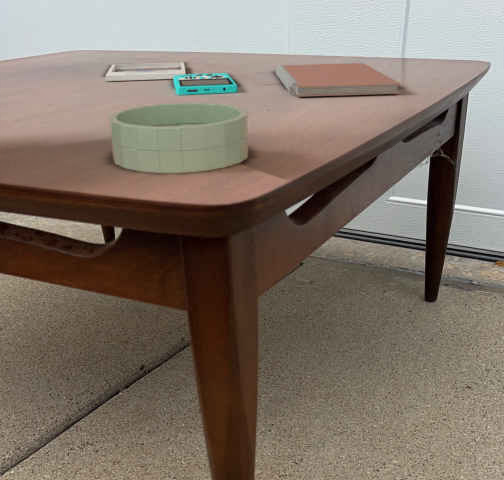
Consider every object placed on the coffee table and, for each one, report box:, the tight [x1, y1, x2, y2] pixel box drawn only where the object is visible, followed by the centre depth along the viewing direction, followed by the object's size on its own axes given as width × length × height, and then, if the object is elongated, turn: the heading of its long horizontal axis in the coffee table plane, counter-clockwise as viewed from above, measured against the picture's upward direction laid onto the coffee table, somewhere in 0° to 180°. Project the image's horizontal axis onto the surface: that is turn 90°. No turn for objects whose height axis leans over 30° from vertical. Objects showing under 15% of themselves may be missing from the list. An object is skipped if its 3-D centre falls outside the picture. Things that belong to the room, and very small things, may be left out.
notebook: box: [274, 62, 401, 98], centre depth 118 cm, size 27×17×2 cm, turn 4°
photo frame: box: [105, 61, 187, 82], centre depth 134 cm, size 15×1×18 cm
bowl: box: [108, 102, 249, 174], centre depth 69 cm, size 13×13×5 cm
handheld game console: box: [172, 72, 238, 96], centre depth 118 cm, size 10×16×1 cm, turn 8°
